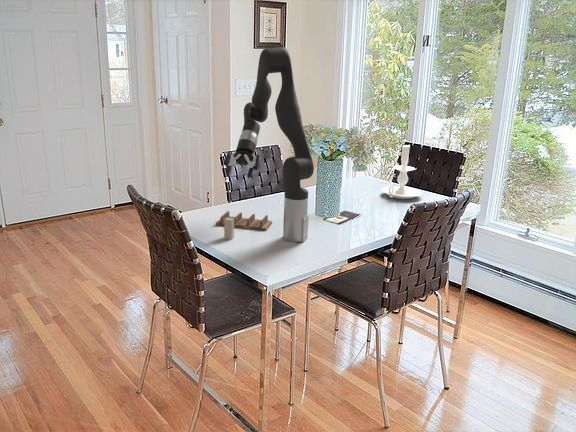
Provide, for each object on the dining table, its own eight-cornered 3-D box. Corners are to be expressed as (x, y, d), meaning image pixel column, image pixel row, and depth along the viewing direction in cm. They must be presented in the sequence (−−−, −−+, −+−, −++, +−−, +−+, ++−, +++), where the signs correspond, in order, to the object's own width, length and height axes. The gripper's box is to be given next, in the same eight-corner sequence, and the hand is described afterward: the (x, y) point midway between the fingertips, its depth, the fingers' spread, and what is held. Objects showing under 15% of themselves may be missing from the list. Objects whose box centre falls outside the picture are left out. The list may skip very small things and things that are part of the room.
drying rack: (272, 223, 227) (272, 215, 226) (266, 230, 218) (266, 222, 217) (223, 218, 232) (223, 210, 231) (215, 225, 223) (215, 216, 221)
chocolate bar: (361, 214, 243) (340, 223, 229) (361, 216, 243) (340, 225, 230) (344, 210, 248) (323, 219, 235) (344, 212, 249) (323, 221, 235)
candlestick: (369, 198, 273) (374, 144, 264) (392, 189, 291) (397, 139, 283) (406, 206, 261) (412, 150, 252) (427, 197, 279) (433, 144, 271)
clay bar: (234, 237, 209) (234, 218, 207) (231, 239, 207) (231, 220, 204) (226, 236, 210) (226, 217, 208) (224, 238, 207) (224, 219, 205)
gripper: (229, 136, 218) (219, 169, 211) (262, 139, 215) (253, 173, 208) (233, 147, 225) (223, 179, 217) (265, 150, 222) (257, 182, 215)
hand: (238, 176), depth 213 cm, fingers open, 8 cm apart
